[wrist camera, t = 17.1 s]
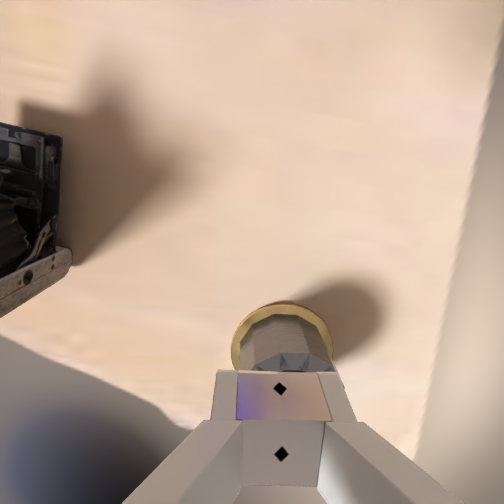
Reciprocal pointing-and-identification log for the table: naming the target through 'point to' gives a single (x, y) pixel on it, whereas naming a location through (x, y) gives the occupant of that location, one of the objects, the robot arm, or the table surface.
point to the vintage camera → (29, 215)
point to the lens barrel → (282, 341)
